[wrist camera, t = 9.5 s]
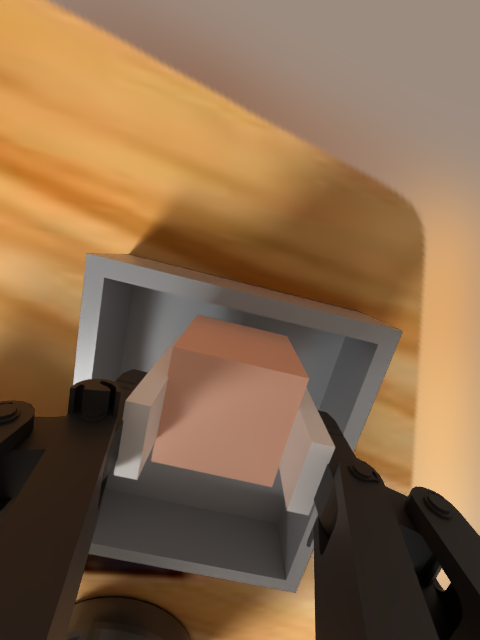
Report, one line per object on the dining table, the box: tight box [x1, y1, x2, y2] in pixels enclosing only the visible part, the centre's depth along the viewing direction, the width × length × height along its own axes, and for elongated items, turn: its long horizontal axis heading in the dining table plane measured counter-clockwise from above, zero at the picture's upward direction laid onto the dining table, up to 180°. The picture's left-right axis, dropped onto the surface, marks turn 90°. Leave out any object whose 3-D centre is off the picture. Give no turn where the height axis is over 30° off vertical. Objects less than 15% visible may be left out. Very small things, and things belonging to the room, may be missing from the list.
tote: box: [73, 253, 403, 593], centre depth 18 cm, size 20×17×5 cm
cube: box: [151, 315, 309, 487], centre depth 12 cm, size 5×5×5 cm
